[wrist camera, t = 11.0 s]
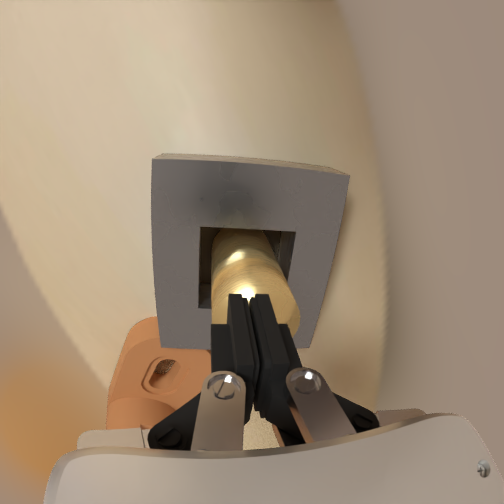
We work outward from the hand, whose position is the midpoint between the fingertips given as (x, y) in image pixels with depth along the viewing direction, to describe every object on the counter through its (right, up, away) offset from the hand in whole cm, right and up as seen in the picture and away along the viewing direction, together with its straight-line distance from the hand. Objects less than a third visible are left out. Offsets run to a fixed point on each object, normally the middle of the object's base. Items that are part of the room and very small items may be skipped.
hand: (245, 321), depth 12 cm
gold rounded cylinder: (-1, +3, +10) cm, 10 cm away
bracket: (-10, -10, +15) cm, 21 cm away
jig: (-1, +3, +10) cm, 10 cm away
